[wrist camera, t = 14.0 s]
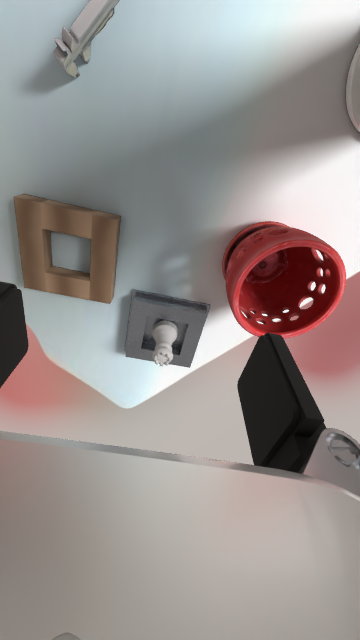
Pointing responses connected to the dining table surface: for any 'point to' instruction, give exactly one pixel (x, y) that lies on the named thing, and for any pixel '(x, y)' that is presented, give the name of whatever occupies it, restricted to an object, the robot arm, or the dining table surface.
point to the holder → (160, 308)
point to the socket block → (74, 220)
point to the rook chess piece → (164, 341)
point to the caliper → (83, 34)
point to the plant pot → (281, 279)
